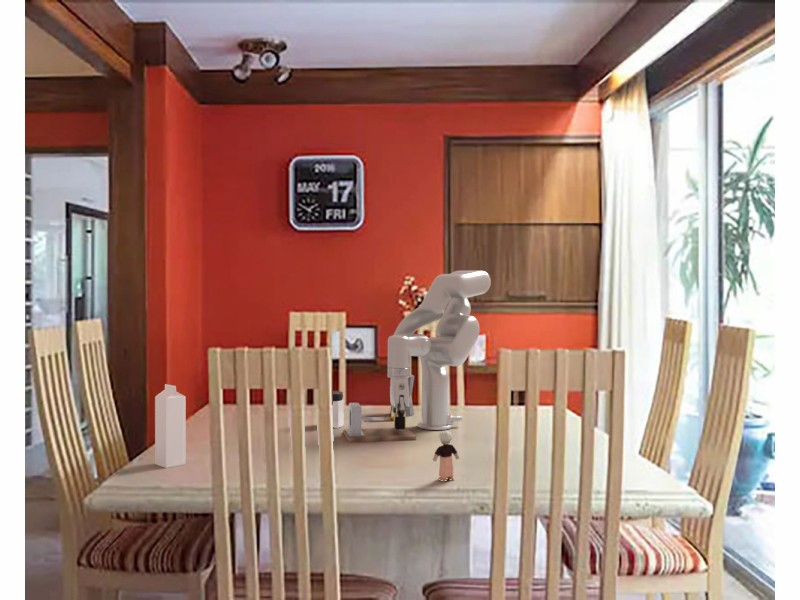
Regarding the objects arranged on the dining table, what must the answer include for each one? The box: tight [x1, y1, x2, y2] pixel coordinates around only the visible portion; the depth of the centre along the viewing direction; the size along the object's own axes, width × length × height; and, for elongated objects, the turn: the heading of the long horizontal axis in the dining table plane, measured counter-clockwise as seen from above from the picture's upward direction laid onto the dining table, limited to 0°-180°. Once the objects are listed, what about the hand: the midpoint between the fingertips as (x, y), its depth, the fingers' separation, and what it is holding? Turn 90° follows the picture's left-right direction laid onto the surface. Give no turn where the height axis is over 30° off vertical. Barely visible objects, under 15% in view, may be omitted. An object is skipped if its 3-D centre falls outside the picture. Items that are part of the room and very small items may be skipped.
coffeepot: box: [389, 374, 415, 417], centre depth 280 cm, size 15×9×18 cm, turn 178°
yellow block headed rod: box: [362, 410, 407, 428], centre depth 241 cm, size 14×5×5 cm, turn 101°
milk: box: [154, 383, 187, 469], centre depth 201 cm, size 6×6×22 cm
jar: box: [332, 390, 345, 429], centre depth 257 cm, size 9×8×12 cm
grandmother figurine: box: [432, 430, 460, 481], centre depth 188 cm, size 8×4×13 cm, turn 131°
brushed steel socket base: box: [345, 402, 365, 437], centre depth 240 cm, size 5×10×10 cm, turn 11°
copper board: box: [342, 427, 417, 443], centre depth 241 cm, size 22×15×1 cm
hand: (398, 426), depth 242 cm, fingers closed on yellow block headed rod, 4 cm apart
